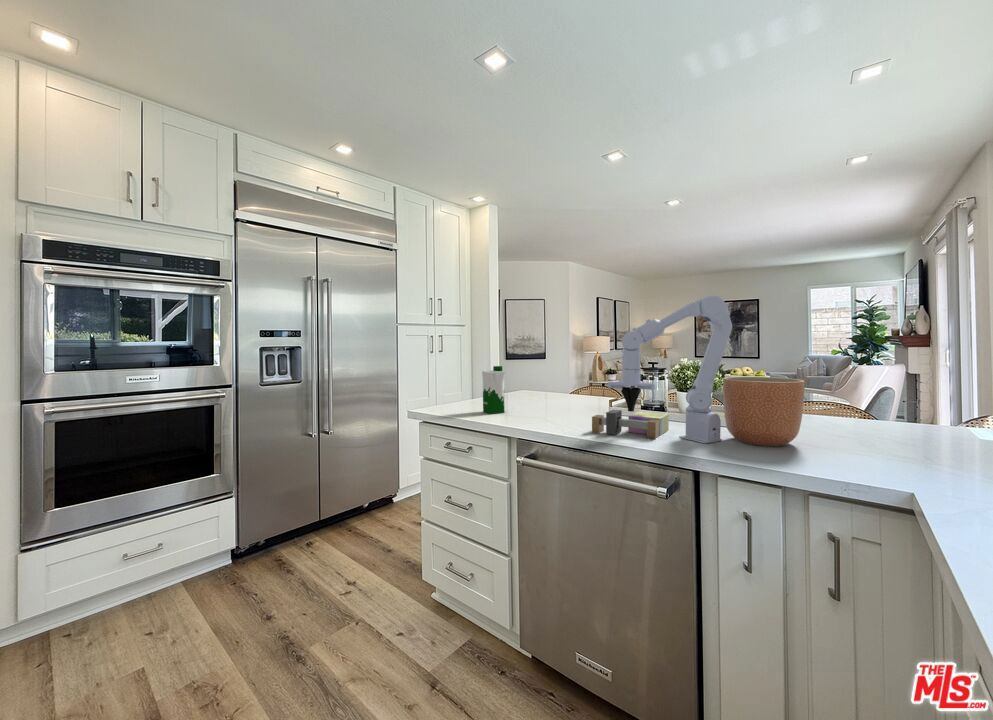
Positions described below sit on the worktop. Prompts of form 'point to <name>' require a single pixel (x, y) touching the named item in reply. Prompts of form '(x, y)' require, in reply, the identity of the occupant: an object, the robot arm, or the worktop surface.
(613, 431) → the collar
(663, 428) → the box
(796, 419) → the planter
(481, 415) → the worktop surface
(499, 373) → the milk carton
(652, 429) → the pipe rig
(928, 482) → the worktop surface
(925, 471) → the worktop surface
